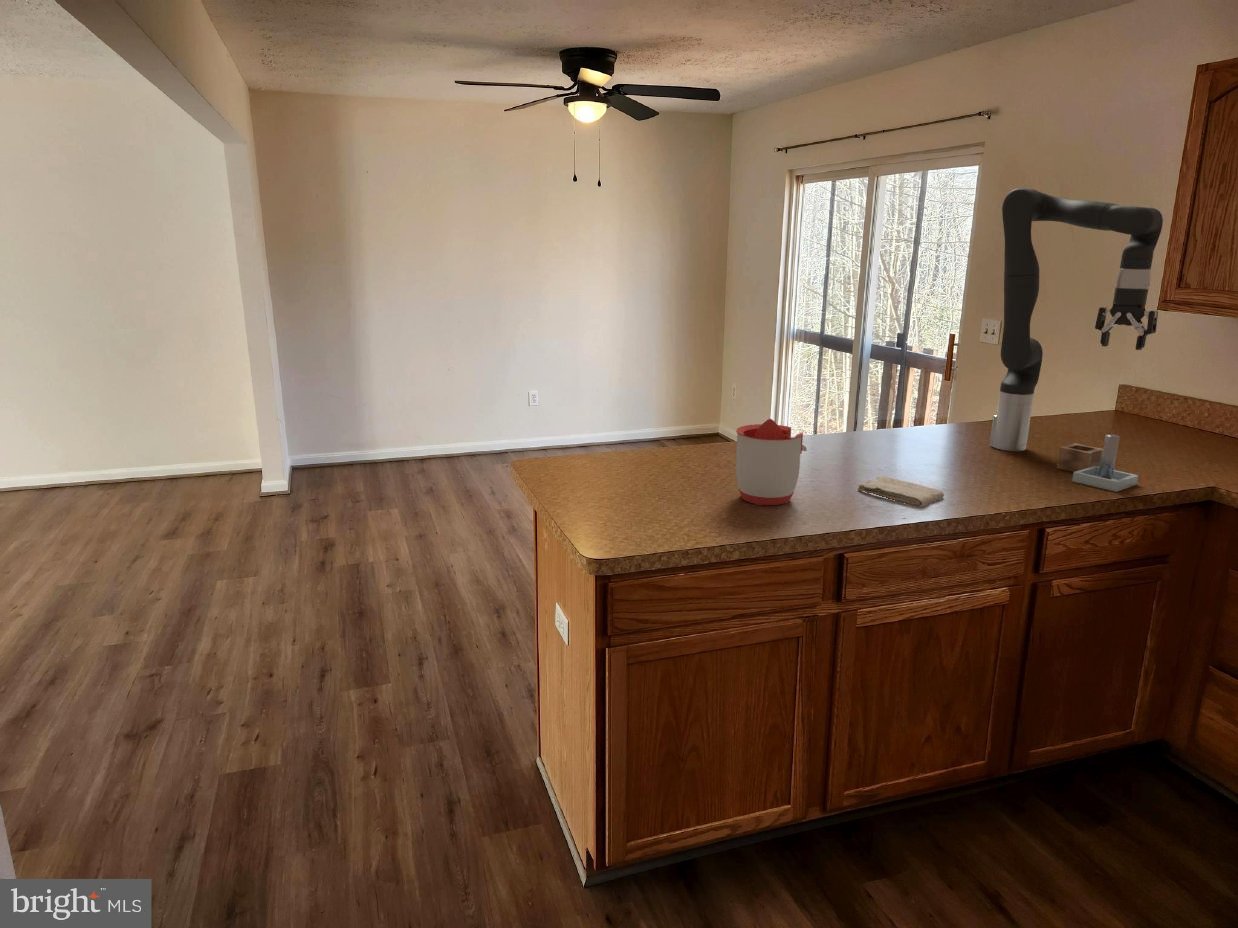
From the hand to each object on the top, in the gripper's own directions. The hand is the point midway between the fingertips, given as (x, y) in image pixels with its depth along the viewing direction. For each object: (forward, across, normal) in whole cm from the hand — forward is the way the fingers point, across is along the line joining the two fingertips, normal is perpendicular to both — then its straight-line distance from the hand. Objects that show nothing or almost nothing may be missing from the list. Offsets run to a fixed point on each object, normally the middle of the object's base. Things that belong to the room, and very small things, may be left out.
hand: (1121, 348), depth 218 cm
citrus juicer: (+33, -31, -99) cm, 109 cm away
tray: (+33, +8, -16) cm, 38 cm away
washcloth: (+34, -15, -70) cm, 79 cm away
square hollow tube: (+33, -2, -8) cm, 34 cm away
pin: (+32, +8, -16) cm, 37 cm away
